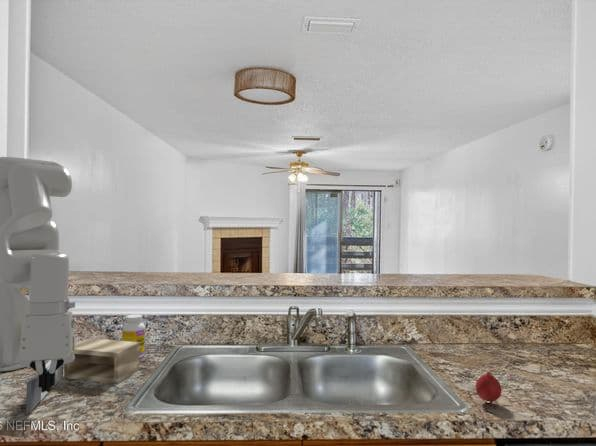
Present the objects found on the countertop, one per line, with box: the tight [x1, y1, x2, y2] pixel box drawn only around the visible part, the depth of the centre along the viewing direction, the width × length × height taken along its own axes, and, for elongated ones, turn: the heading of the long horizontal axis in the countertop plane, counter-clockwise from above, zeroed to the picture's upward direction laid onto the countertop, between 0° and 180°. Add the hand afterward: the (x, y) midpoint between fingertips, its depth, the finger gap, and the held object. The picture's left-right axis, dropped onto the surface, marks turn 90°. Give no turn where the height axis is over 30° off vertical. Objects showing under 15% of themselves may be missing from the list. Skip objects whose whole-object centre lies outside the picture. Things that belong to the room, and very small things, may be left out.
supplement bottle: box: [121, 313, 146, 359], centre depth 130 cm, size 7×7×13 cm
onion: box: [475, 371, 502, 403], centre depth 102 cm, size 6×6×8 cm
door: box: [25, 360, 64, 414], centre depth 101 cm, size 23×1×6 cm, turn 14°
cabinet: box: [63, 337, 140, 384], centre depth 115 cm, size 16×10×8 cm, turn 80°
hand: (46, 389), depth 93 cm, fingers closed
